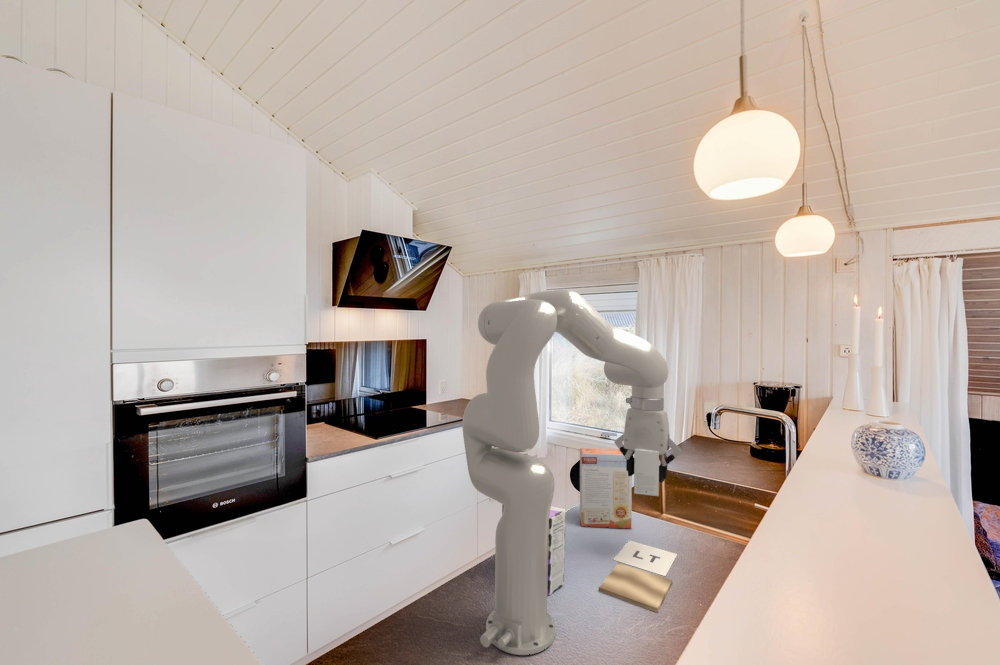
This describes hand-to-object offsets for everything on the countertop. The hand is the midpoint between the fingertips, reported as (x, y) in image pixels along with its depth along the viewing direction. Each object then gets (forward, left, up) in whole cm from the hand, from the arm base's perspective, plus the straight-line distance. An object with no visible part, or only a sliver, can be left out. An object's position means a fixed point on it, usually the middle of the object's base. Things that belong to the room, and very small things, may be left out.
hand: (646, 477), depth 105 cm
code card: (0, 0, -19) cm, 19 cm away
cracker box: (+12, +15, -20) cm, 28 cm away
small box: (0, 0, -3) cm, 3 cm away
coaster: (-14, -2, -19) cm, 24 cm away
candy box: (-24, +18, -20) cm, 36 cm away
